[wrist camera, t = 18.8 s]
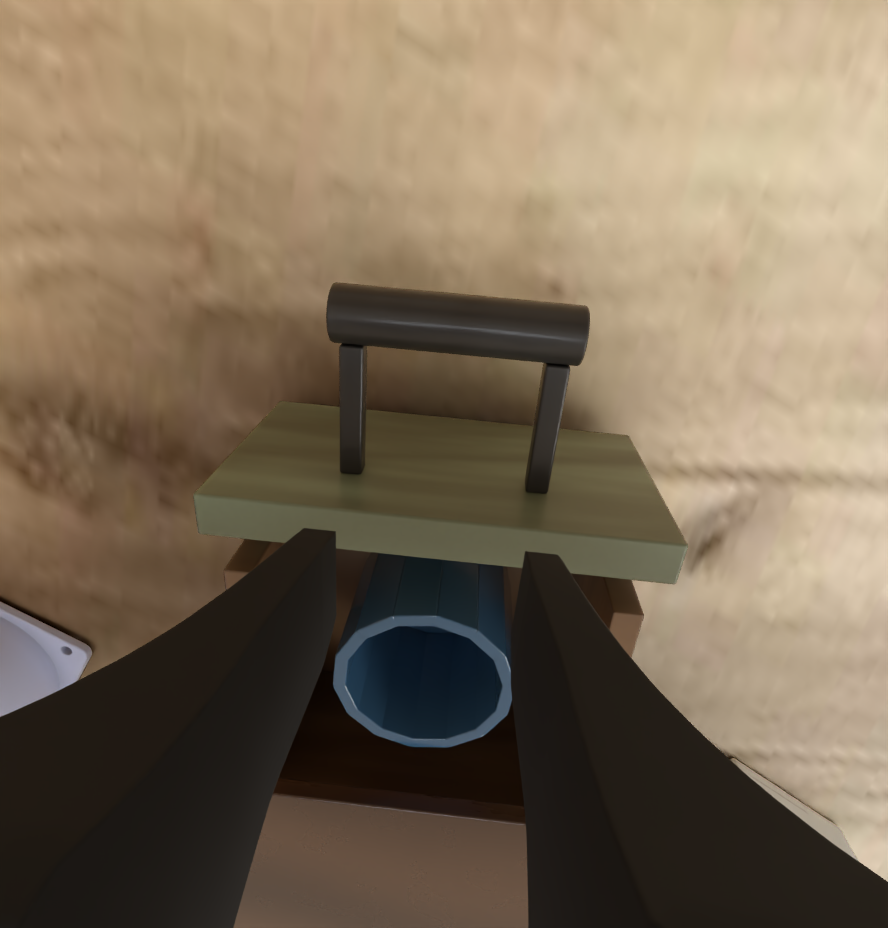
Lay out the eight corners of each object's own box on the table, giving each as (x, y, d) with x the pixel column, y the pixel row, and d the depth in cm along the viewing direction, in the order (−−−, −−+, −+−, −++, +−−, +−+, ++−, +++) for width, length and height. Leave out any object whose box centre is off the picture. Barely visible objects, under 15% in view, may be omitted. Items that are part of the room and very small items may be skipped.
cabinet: (283, 608, 25) (198, 785, 18) (587, 641, 25) (629, 836, 17) (295, 799, 31) (235, 991, 24) (540, 828, 31) (556, 1033, 23)
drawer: (271, 249, 18) (162, 285, 12) (665, 285, 17) (756, 341, 11) (293, 662, 25) (234, 809, 19) (566, 693, 25) (590, 852, 19)
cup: (340, 587, 22) (300, 697, 17) (417, 488, 20) (396, 582, 15) (453, 652, 23) (444, 771, 18) (539, 564, 21) (553, 675, 16)
